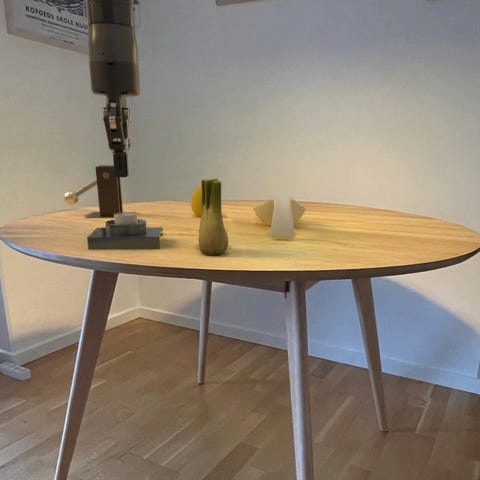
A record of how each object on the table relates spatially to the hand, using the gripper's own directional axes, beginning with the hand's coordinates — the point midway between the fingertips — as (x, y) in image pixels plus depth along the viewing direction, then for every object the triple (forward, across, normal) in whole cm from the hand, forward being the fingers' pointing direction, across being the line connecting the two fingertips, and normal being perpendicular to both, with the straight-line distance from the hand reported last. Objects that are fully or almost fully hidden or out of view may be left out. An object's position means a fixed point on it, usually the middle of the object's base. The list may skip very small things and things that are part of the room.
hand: (121, 176), depth 79 cm
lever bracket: (+12, -27, -7) cm, 30 cm away
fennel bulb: (+12, +8, +15) cm, 21 cm away
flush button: (+8, 0, 0) cm, 8 cm away
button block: (+12, 0, 0) cm, 12 cm away
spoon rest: (+12, -14, +30) cm, 35 cm away
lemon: (+12, -25, +14) cm, 31 cm away
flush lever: (+6, -27, -10) cm, 29 cm away
